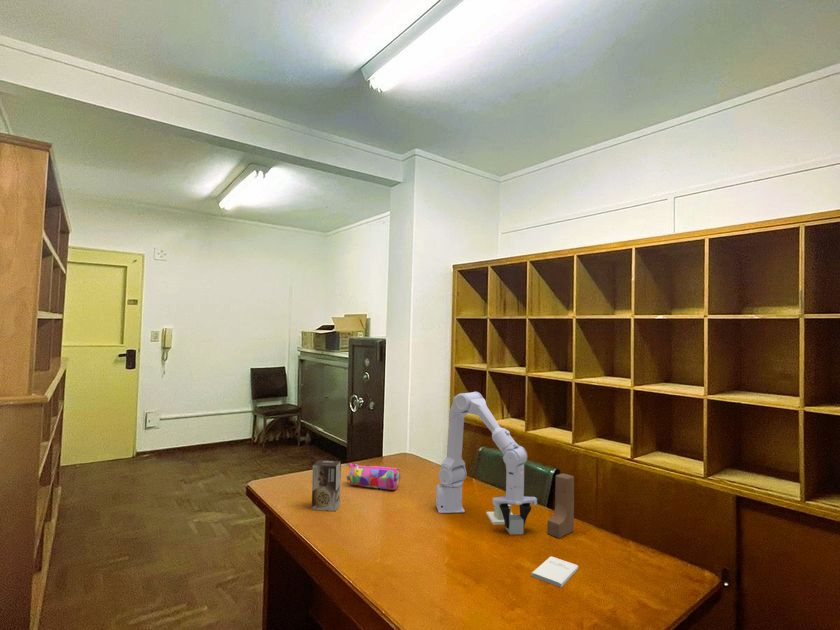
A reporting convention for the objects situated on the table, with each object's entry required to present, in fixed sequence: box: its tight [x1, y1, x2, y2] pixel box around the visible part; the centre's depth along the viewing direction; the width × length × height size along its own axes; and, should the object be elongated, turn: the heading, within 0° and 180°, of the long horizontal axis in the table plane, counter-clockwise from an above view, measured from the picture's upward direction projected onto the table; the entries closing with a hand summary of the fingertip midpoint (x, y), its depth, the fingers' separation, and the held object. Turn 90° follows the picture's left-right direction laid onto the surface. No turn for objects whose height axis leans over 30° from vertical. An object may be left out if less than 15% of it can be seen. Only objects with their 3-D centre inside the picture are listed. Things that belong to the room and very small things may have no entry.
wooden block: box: [546, 473, 575, 539], centre depth 147 cm, size 9×4×18 cm, turn 131°
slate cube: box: [505, 513, 525, 535], centre depth 147 cm, size 4×4×4 cm
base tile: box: [485, 511, 514, 526], centre depth 157 cm, size 9×9×2 cm
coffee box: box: [311, 459, 342, 512], centre depth 164 cm, size 9×6×16 cm
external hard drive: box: [531, 556, 579, 588], centre depth 121 cm, size 2×8×12 cm
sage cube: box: [493, 505, 512, 520], centre depth 157 cm, size 4×4×4 cm
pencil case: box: [346, 462, 401, 491], centre depth 187 cm, size 22×9×9 cm, turn 76°
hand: (514, 526), depth 147 cm, fingers closed on slate cube, 4 cm apart
